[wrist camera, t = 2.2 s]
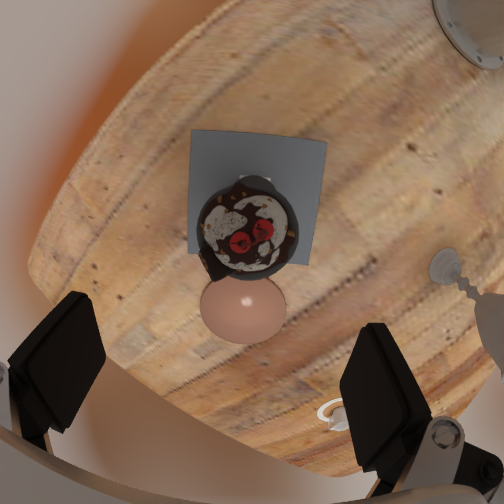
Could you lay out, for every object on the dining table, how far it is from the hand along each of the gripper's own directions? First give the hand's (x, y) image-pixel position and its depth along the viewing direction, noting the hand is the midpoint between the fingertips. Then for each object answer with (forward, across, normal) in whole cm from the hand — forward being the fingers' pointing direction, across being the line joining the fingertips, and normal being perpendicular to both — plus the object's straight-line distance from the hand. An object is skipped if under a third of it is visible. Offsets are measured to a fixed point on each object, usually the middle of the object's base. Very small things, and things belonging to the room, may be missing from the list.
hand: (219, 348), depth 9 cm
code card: (+20, -1, -1) cm, 20 cm away
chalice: (+20, -26, +4) cm, 33 cm away
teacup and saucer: (+21, -22, +33) cm, 45 cm away
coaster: (+21, -1, +12) cm, 24 cm away
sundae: (+20, -1, -1) cm, 20 cm away
